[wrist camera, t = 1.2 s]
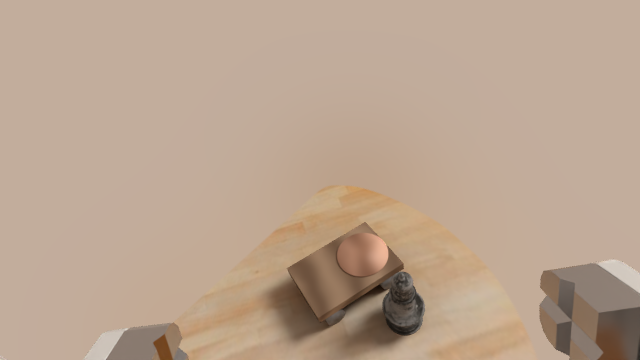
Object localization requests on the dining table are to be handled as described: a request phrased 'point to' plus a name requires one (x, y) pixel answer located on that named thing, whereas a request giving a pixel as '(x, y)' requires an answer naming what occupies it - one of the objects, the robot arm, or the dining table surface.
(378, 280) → the roller slab
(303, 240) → the dining table surface
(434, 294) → the dining table surface
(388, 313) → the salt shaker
